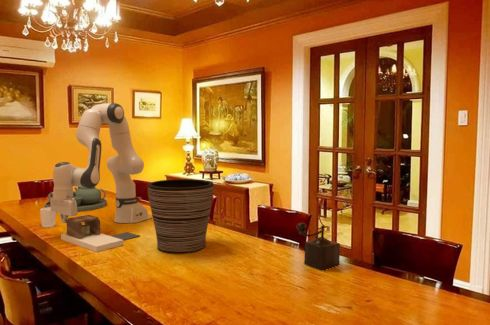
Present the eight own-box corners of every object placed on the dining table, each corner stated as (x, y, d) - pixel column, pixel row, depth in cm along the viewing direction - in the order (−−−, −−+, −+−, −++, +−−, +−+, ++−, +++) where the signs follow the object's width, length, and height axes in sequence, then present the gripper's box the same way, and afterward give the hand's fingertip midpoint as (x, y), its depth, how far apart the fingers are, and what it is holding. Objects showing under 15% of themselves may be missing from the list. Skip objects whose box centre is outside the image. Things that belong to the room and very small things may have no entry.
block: (85, 238, 205) (85, 224, 205) (89, 239, 203) (89, 225, 202) (77, 239, 202) (77, 226, 202) (82, 241, 200) (81, 227, 199)
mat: (127, 232, 216) (127, 232, 216) (140, 236, 209) (140, 235, 209) (108, 237, 207) (108, 236, 207) (121, 241, 200) (121, 240, 200)
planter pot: (150, 259, 173) (149, 189, 170) (147, 240, 202) (146, 180, 199) (219, 253, 181) (219, 186, 178) (207, 236, 210) (207, 178, 207)
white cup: (50, 228, 225) (49, 210, 224) (37, 227, 227) (36, 209, 226) (59, 224, 233) (58, 207, 232) (47, 224, 234) (46, 206, 233)
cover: (87, 230, 210) (87, 214, 210) (100, 233, 203) (100, 217, 202) (66, 234, 202) (66, 218, 201) (79, 238, 194) (79, 221, 193)
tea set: (45, 204, 295) (44, 181, 294) (103, 200, 312) (102, 178, 311) (44, 215, 259) (43, 189, 258) (110, 209, 276) (109, 185, 275)
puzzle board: (87, 233, 214) (87, 229, 213) (123, 245, 193) (123, 239, 193) (61, 239, 203) (60, 234, 202) (96, 252, 183) (96, 246, 182)
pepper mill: (319, 258, 175) (320, 217, 173) (340, 265, 166) (341, 222, 165) (293, 266, 165) (294, 222, 164) (313, 274, 157) (314, 228, 155)
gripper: (80, 196, 199) (81, 224, 200) (59, 192, 211) (60, 218, 213) (67, 198, 194) (68, 226, 195) (47, 193, 207) (48, 220, 208)
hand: (64, 222), depth 204 cm, fingers closed
